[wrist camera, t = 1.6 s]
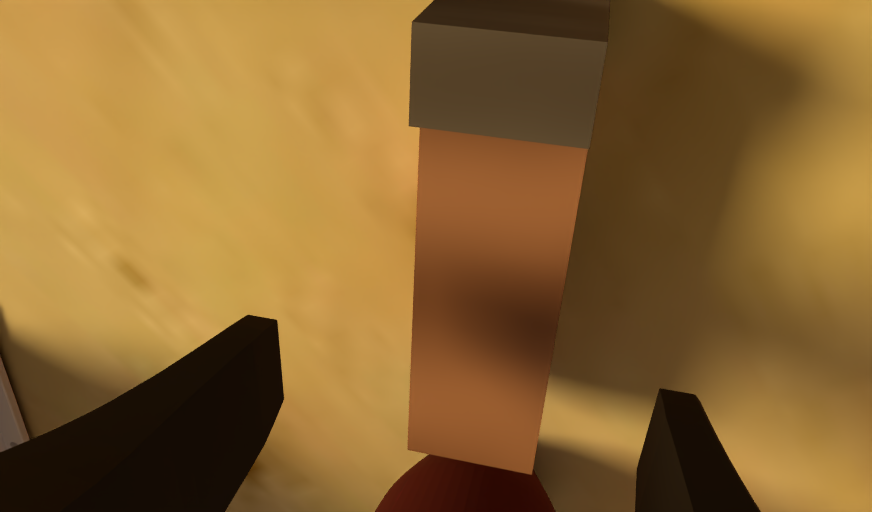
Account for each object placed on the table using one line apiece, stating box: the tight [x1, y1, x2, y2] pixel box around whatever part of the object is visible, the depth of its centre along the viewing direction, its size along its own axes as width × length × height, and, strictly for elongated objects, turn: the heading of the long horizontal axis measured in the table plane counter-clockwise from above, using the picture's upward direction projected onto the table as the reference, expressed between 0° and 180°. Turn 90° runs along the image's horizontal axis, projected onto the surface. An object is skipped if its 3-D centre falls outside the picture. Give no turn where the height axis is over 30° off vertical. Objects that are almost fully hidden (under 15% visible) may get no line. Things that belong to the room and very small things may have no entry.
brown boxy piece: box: [408, 0, 610, 475], centre depth 18 cm, size 12×4×6 cm, turn 177°
